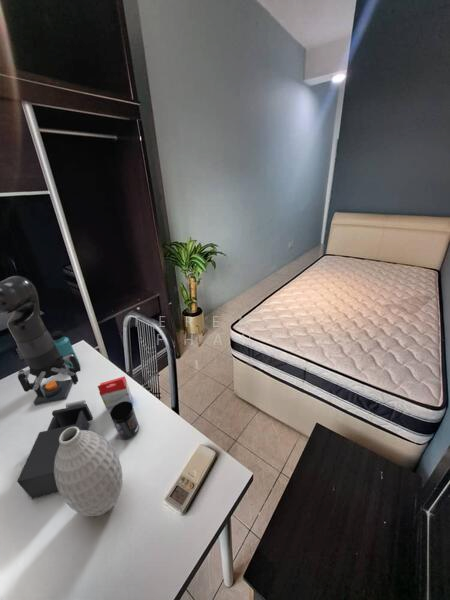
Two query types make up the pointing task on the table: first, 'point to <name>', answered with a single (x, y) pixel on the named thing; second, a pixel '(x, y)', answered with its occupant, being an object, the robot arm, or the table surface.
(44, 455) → the cabinet
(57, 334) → the beverage bottle
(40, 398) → the block
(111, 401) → the ink box
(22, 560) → the table surface
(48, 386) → the button
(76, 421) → the drawer
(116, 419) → the supplement container
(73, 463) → the vase
